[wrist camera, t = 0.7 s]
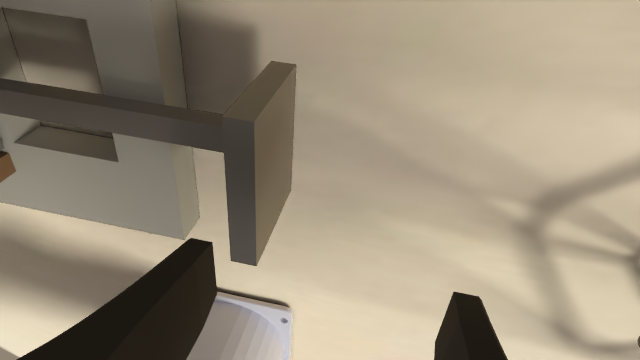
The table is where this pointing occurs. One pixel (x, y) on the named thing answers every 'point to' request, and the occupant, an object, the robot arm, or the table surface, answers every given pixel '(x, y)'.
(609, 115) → the table surface
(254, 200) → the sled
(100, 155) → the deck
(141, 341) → the robot arm
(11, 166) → the tunnel
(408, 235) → the table surface
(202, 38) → the table surface
